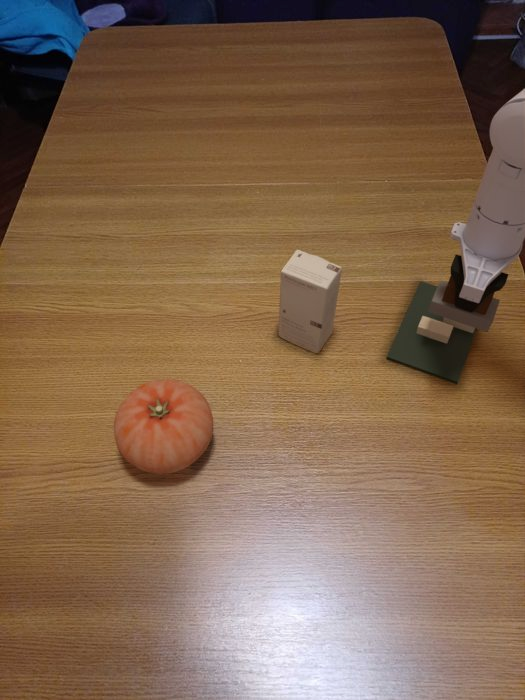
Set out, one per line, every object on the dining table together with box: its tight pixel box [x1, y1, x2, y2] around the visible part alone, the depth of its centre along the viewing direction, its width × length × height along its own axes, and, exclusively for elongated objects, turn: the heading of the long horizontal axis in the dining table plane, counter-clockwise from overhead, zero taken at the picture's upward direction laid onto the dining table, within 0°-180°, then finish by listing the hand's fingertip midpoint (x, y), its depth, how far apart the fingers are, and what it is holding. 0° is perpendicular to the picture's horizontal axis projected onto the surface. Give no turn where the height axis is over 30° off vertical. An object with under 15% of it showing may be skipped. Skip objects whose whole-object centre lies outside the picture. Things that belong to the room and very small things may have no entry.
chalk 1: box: [416, 316, 453, 344], centre depth 77 cm, size 4×2×1 cm, turn 64°
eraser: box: [428, 275, 501, 333], centre depth 70 cm, size 7×4×4 cm, turn 65°
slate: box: [385, 280, 478, 385], centre depth 79 cm, size 9×14×1 cm, turn 154°
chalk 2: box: [443, 318, 475, 333], centre depth 78 cm, size 4×2×1 cm, turn 64°
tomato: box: [113, 378, 214, 474], centre depth 67 cm, size 11×11×8 cm
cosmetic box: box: [277, 248, 343, 354], centre depth 74 cm, size 6×4×12 cm
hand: (467, 298), depth 70 cm, fingers closed on eraser, 2 cm apart
